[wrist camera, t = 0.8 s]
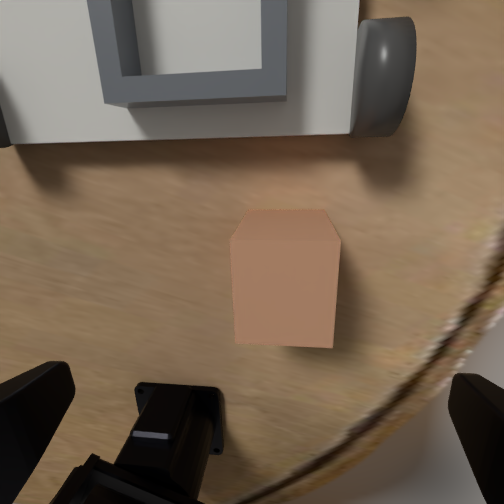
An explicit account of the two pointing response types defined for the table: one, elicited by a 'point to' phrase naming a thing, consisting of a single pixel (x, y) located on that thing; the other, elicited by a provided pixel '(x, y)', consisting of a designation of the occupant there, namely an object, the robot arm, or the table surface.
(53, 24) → the chassis
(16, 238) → the table surface
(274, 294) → the tan rectangular block
